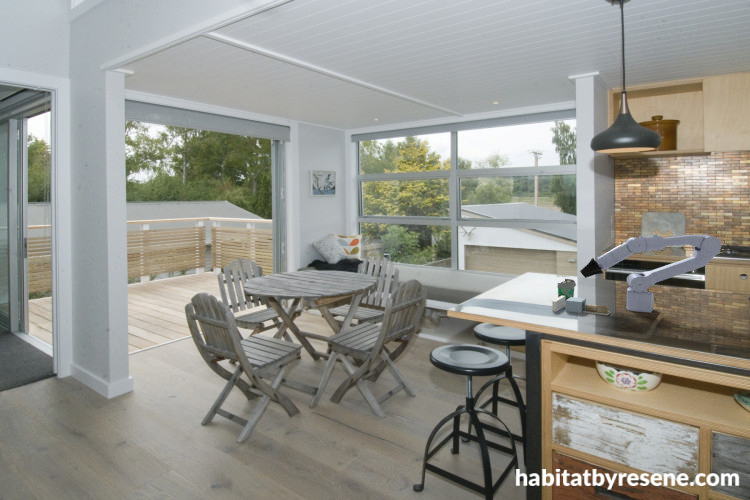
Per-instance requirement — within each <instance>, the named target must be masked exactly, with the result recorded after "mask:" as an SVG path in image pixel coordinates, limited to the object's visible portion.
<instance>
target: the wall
mask: <svg viewBox="0 0 750 500" xmlns="http://www.w3.org/2000/svg"><path fill="white" fill-rule="evenodd" d="M551 303H552V304H551V306H552V307H551V310H552V312H555V313H557V312H558V311H559V310H561V309H562V308H564V307H566V302H565V296H560V297H558V296H557V298H555V299H554V300H552V302H551Z"/></svg>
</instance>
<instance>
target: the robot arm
mask: <svg viewBox="0 0 750 500" xmlns="http://www.w3.org/2000/svg"><path fill="white" fill-rule="evenodd" d="M685 245H686V246H687V245H689V246H693V247H694V250H693V252H692V255H691V256H689V257H687V258H684V259H683V258H682V259H681V260H679V261H675V262H672V263H670V264H666V265H664V266H660V267H657V268H655V269H651V270H648V271H643V272H633V273H630V274H628V275H627V277H626V284H627V285H628V287H627V289H626V310H627V311H631V312H642V313H650V314H651V313H652V312H653V311H654V301H655V299H654V297H655V295H654V292H651V291H648V288H650V287H653V286H654V285H655V284H656V283H659V282H663V281H665V280H668V279H670V278H674V277H676V276H680V275H683V274H686V273H688V272H692V271H694V270H698V269H700V268H703V267H706V266H707V264H708V263H710V261H712V260H713V258H714V257H716V256H717V255H718V254H720V252H721V248H722V245H723V244H722V240H721V239H720V238H719V237H717V236H713V235H712V236H711V235H710V234H706V233H705V234H686V235H677V236H671V237H670V236H669V237H663V236H662V235H658V234H655V233H654V234H652V235H649V236H643V235H639V236H638V237H629V238H627V239H625V242H623V243H621V244H620V245H617V246H615V247H614V248H612V249H610V250H609V251H607V252H605V253H603V254H602V255H600V256H599V255H598V254H596V255H595V257H596V260H595V258H593V257H592V258H591V259H590V261H589V262H588V263H587V264H586V265H585V266H584V267H582V269H580V270H579V272H580V274H581V275H582V276H583V278H590V277H593V276H596V275H602V274H604V272H603V270H605V271H607V270H608V269H609V268H611V267H613V266H615V265H616V264H618V263H620V262H622V261H623V260H626V259H627V258H628V257H630V256H632V255H633V254H640V253H641V252H648V251H660V250H663V249H665V247H671V246H685Z"/></svg>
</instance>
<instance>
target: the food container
mask: <svg viewBox="0 0 750 500" xmlns="http://www.w3.org/2000/svg"><path fill="white" fill-rule="evenodd" d="M575 287H577V283H576V280H575V279H571V278H564V280H563V281H561V282H557V298H558V297H560V296H565V303H566V300H567V299H569V298H570V297H575Z"/></svg>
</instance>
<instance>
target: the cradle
mask: <svg viewBox="0 0 750 500" xmlns="http://www.w3.org/2000/svg"><path fill="white" fill-rule="evenodd" d="M582 313H584V314H592V315H601V316H609V315H610V314H611V311H610V310H608V314H606V313H598V312H589V311H585V310H584V311H583V312H582Z"/></svg>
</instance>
